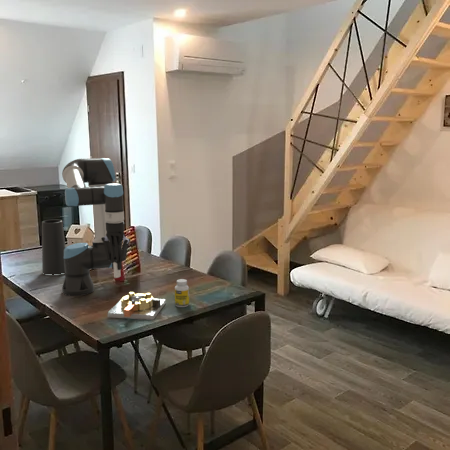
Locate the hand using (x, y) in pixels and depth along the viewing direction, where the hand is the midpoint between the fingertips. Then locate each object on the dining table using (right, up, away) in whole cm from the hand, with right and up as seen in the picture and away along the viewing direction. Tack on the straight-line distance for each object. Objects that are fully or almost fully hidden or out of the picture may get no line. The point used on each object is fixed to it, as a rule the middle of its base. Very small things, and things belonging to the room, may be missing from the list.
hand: (117, 276), depth 215 cm
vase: (-49, -5, +69) cm, 84 cm away
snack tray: (+6, -14, +8) cm, 17 cm away
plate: (+6, -16, +12) cm, 21 cm away
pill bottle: (+26, -15, +18) cm, 35 cm away
